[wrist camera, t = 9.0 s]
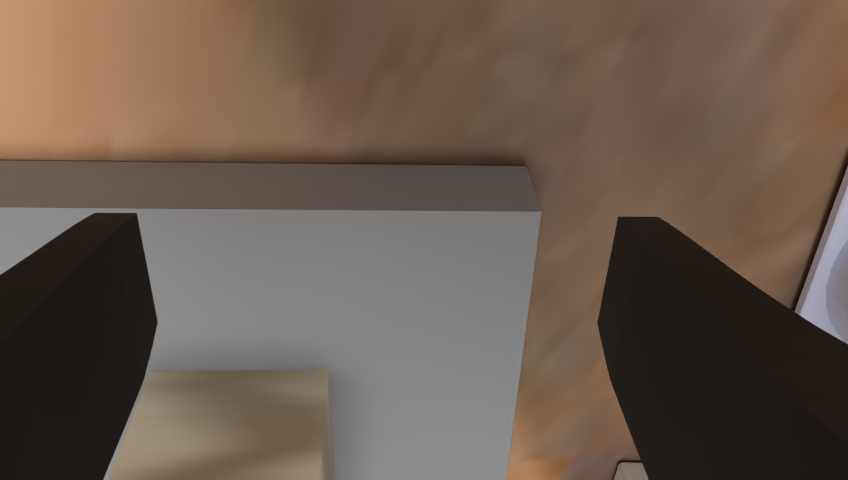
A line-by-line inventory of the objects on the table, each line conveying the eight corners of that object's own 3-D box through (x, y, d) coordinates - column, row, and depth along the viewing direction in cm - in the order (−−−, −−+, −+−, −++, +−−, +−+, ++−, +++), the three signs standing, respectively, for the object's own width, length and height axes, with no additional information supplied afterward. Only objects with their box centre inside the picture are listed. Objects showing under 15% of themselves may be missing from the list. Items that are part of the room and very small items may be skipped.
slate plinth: (526, 165, 22) (541, 212, 20) (483, 533, 30) (490, 592, 28) (-68, 159, 21) (-119, 206, 19) (62, 539, 29) (37, 601, 27)
